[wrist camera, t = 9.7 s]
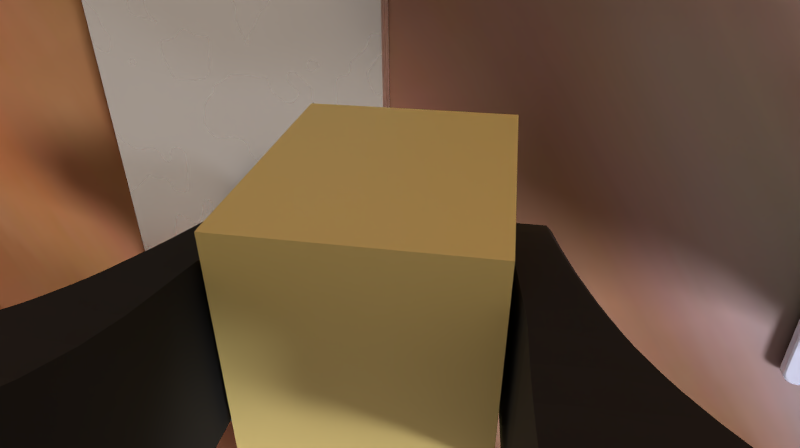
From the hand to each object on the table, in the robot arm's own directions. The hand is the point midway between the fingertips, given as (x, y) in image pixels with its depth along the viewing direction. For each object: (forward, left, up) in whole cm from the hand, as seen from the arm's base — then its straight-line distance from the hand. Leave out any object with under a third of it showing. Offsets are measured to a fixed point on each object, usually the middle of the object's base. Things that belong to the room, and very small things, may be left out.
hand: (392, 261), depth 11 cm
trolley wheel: (+6, +4, -9) cm, 12 cm away
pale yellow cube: (0, 0, -2) cm, 2 cm away
